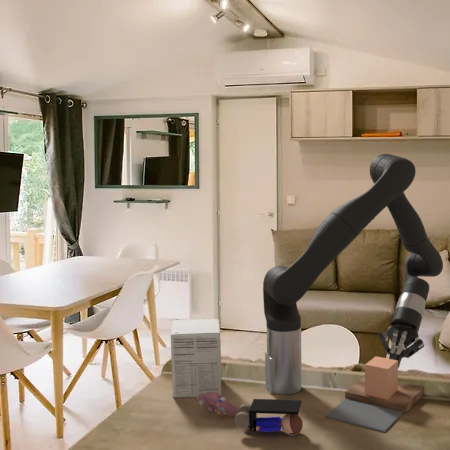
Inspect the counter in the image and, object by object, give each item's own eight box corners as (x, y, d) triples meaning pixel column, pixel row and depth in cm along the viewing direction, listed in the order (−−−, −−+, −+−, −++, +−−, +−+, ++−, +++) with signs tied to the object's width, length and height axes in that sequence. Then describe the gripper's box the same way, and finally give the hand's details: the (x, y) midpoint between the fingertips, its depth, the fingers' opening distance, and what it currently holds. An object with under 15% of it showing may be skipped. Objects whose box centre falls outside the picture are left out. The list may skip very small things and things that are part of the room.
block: (375, 385, 169) (375, 356, 168) (397, 390, 166) (398, 360, 165) (364, 394, 164) (365, 364, 163) (387, 399, 160) (387, 369, 159)
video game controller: (201, 414, 163) (191, 395, 159) (212, 401, 165) (202, 382, 162) (230, 426, 156) (220, 405, 153) (241, 412, 159) (232, 392, 155)
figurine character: (236, 442, 147) (302, 440, 144) (232, 411, 146) (298, 408, 143) (242, 429, 154) (305, 427, 150) (237, 398, 153) (301, 396, 150)
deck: (366, 381, 177) (366, 374, 177) (424, 393, 168) (424, 386, 168) (345, 399, 166) (345, 391, 166) (405, 413, 157) (405, 405, 157)
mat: (346, 399, 166) (346, 398, 166) (403, 413, 157) (403, 411, 157) (325, 417, 156) (325, 415, 156) (384, 432, 147) (384, 430, 147)
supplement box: (222, 396, 170) (220, 332, 167) (172, 398, 169) (169, 334, 167) (220, 377, 183) (219, 318, 180) (174, 379, 182) (172, 319, 180)
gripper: (382, 302, 180) (364, 357, 172) (429, 309, 172) (413, 367, 164) (389, 316, 185) (372, 370, 177) (435, 323, 177) (419, 380, 169)
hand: (392, 368), depth 170 cm, fingers closed
